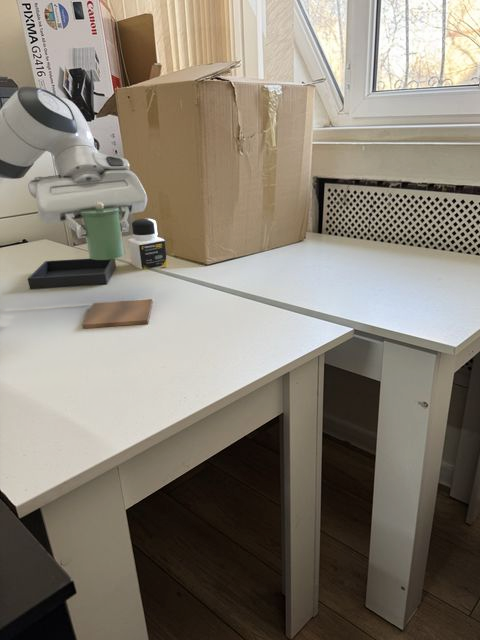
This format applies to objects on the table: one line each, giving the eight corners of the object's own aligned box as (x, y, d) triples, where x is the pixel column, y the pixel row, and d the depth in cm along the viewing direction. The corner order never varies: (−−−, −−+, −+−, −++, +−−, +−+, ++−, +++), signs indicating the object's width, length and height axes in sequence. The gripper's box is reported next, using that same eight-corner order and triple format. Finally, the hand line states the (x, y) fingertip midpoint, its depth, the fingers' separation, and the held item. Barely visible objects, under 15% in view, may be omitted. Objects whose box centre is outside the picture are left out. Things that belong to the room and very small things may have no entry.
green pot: (85, 261, 94) (74, 205, 89) (91, 252, 100) (82, 199, 96) (123, 259, 94) (115, 203, 90) (128, 250, 101) (120, 198, 96)
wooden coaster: (82, 328, 94) (82, 324, 94) (94, 306, 105) (93, 303, 105) (148, 323, 96) (147, 320, 95) (152, 302, 106) (152, 299, 106)
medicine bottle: (142, 271, 128) (136, 223, 123) (131, 266, 133) (124, 219, 128) (168, 266, 131) (162, 219, 126) (156, 261, 137) (150, 215, 132)
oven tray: (30, 291, 116) (27, 278, 114) (47, 272, 129) (45, 261, 128) (107, 286, 117) (105, 273, 116) (116, 268, 131) (114, 256, 130)
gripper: (24, 166, 91) (45, 230, 87) (135, 158, 100) (158, 216, 97) (26, 190, 96) (46, 251, 93) (131, 180, 105) (153, 235, 102)
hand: (104, 233), depth 95 cm, fingers closed on green pot, 6 cm apart
